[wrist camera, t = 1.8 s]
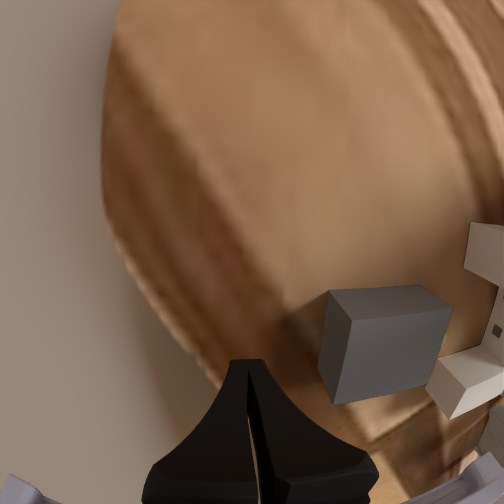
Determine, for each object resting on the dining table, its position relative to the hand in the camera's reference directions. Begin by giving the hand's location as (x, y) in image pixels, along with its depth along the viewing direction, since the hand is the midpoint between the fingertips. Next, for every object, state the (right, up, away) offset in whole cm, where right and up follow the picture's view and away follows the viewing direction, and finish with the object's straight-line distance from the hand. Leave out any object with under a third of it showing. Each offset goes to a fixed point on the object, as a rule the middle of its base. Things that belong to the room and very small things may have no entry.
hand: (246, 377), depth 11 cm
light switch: (+33, -19, +11) cm, 40 cm away
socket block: (+17, +1, +4) cm, 18 cm away
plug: (+7, +1, +4) cm, 8 cm away
